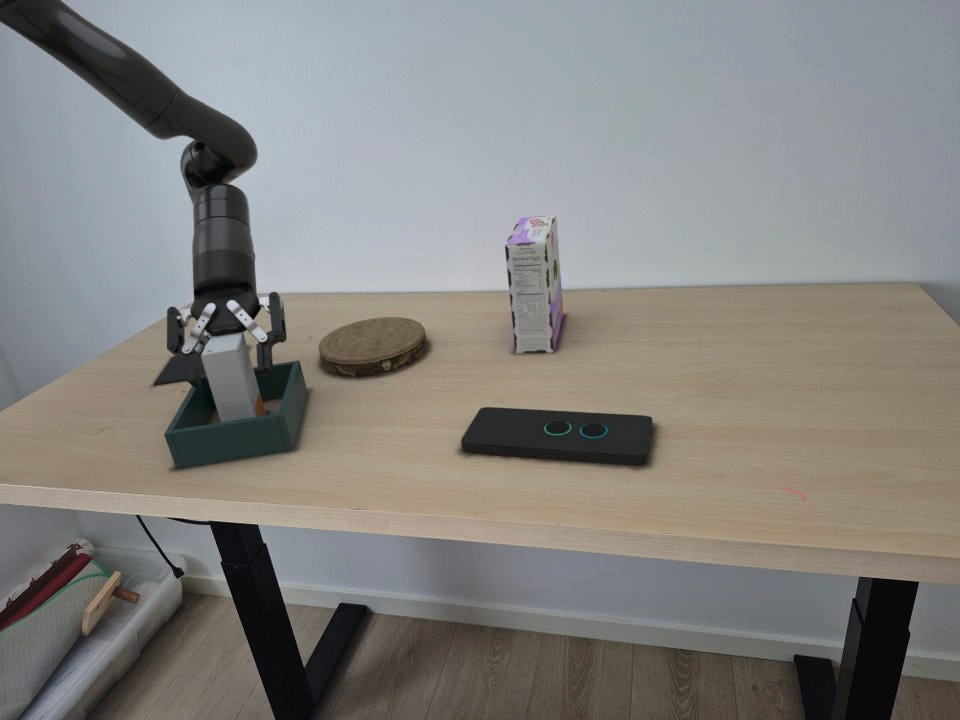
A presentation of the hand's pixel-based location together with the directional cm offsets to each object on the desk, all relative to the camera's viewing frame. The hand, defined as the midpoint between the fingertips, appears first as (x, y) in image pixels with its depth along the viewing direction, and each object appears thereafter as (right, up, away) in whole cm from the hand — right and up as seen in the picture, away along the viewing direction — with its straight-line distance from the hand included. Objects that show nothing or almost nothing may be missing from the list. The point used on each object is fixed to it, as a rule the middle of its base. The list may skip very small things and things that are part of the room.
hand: (229, 380), depth 84 cm
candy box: (+39, +6, +21) cm, 45 cm away
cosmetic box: (+1, -6, +4) cm, 8 cm away
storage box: (+1, -6, +4) cm, 8 cm away
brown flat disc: (+14, +3, +21) cm, 26 cm away
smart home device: (+39, -7, -7) cm, 40 cm away
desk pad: (-13, +1, +25) cm, 28 cm away
